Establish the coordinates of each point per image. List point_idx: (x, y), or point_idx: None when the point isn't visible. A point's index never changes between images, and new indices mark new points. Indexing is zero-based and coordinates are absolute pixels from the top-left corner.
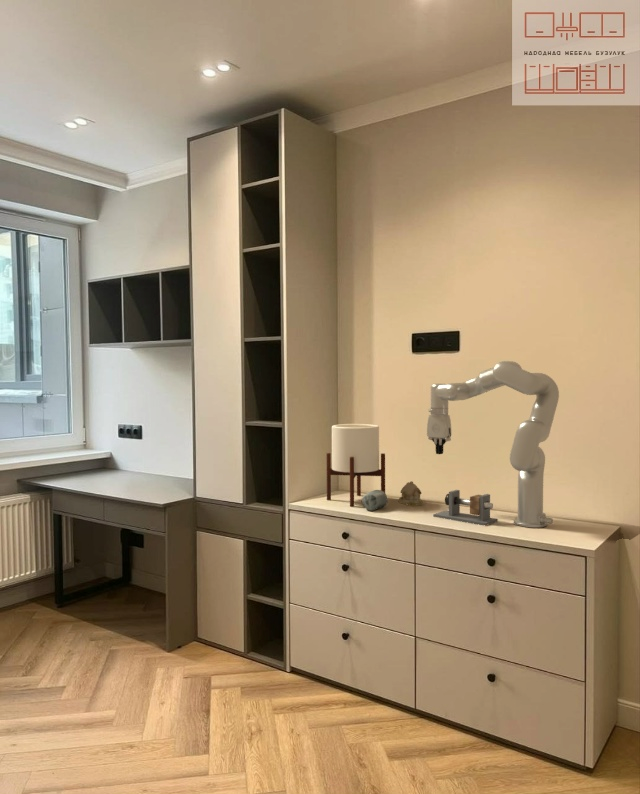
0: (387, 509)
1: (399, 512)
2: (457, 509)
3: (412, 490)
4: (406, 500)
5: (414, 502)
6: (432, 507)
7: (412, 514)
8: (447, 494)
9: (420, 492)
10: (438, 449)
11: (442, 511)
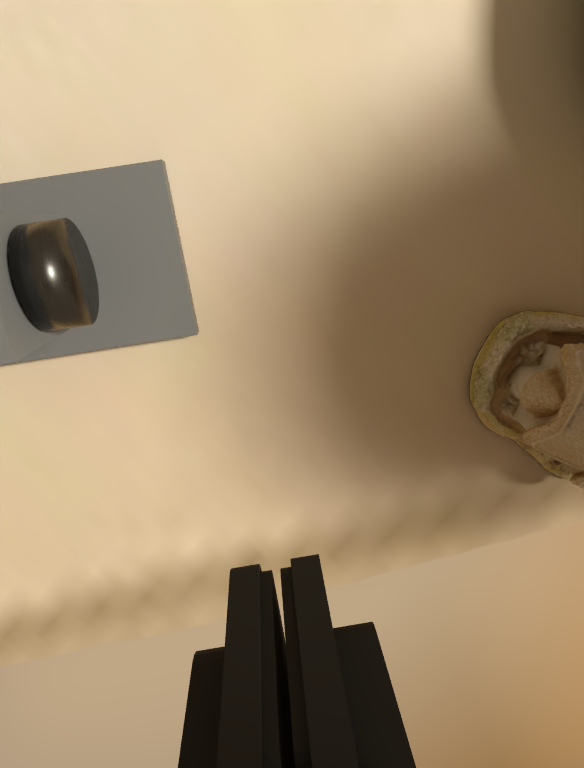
0: (555, 74)
1: (424, 65)
2: None
3: (575, 374)
4: (568, 323)
5: (497, 336)
6: (369, 384)
7: (312, 92)
8: (48, 255)
9: (528, 430)
10: (242, 648)
11: (187, 287)
